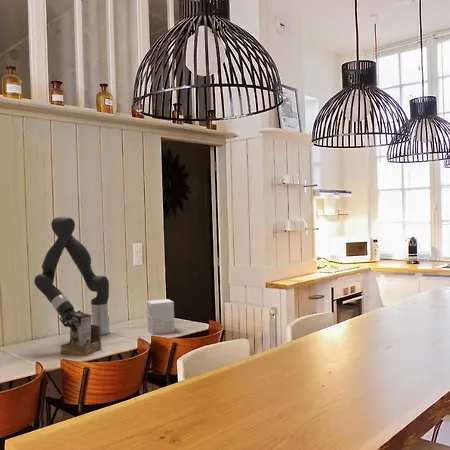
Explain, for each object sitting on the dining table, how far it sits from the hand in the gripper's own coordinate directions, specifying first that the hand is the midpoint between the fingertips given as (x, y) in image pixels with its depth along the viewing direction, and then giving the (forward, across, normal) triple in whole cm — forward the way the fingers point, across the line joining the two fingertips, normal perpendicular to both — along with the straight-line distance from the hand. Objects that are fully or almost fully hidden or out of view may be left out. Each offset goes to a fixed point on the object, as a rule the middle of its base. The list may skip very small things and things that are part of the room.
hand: (81, 329), depth 242 cm
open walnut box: (+7, 0, +9) cm, 11 cm away
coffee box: (+5, 0, +7) cm, 9 cm away
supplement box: (+19, +51, -3) cm, 55 cm away
